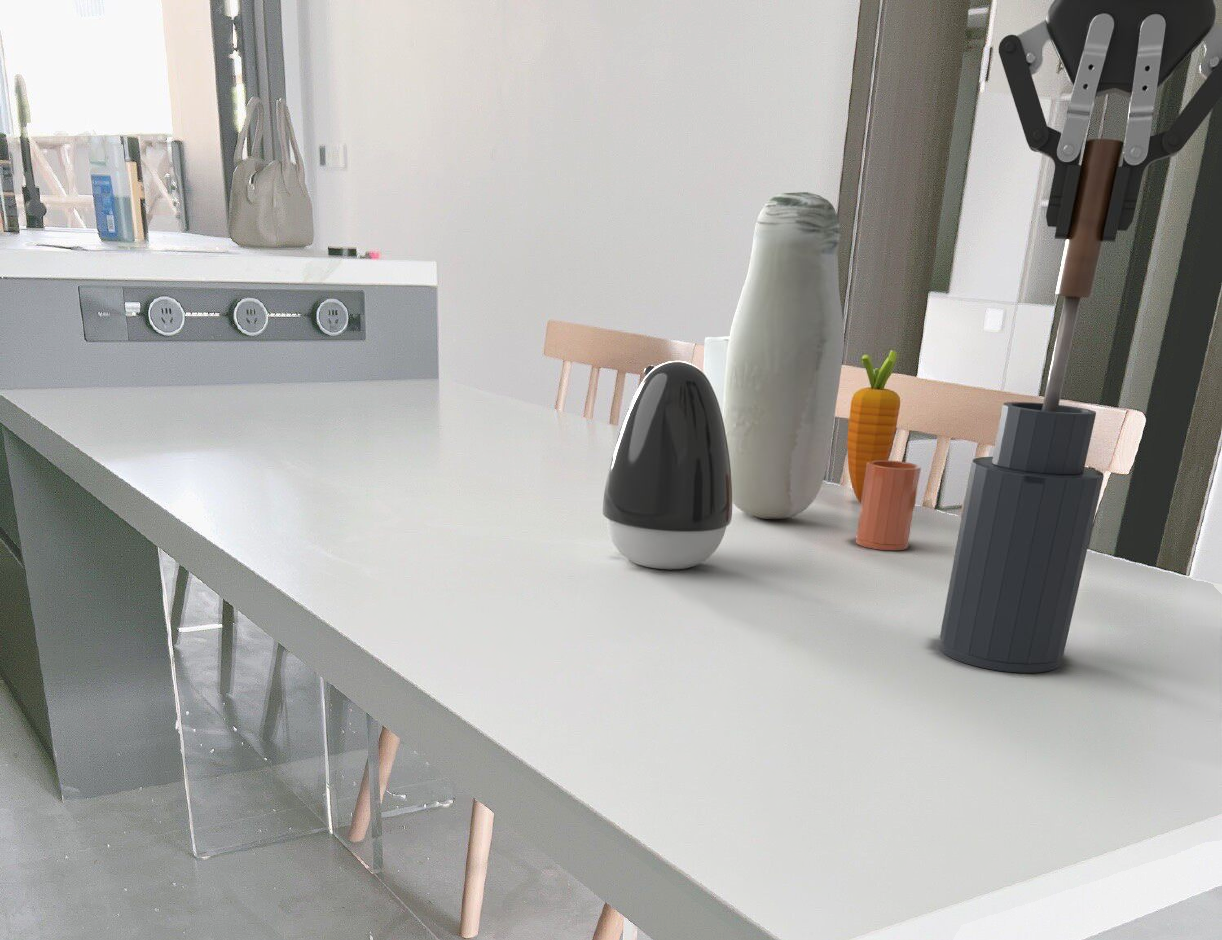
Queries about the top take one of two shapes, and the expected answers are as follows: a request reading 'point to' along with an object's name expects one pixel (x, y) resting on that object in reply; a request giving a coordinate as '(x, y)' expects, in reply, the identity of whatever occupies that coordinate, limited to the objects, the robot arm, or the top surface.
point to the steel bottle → (1022, 542)
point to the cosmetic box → (716, 365)
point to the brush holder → (887, 504)
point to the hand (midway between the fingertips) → (1084, 238)
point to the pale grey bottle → (785, 359)
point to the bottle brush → (1082, 250)
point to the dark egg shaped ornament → (670, 472)
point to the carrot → (871, 422)
